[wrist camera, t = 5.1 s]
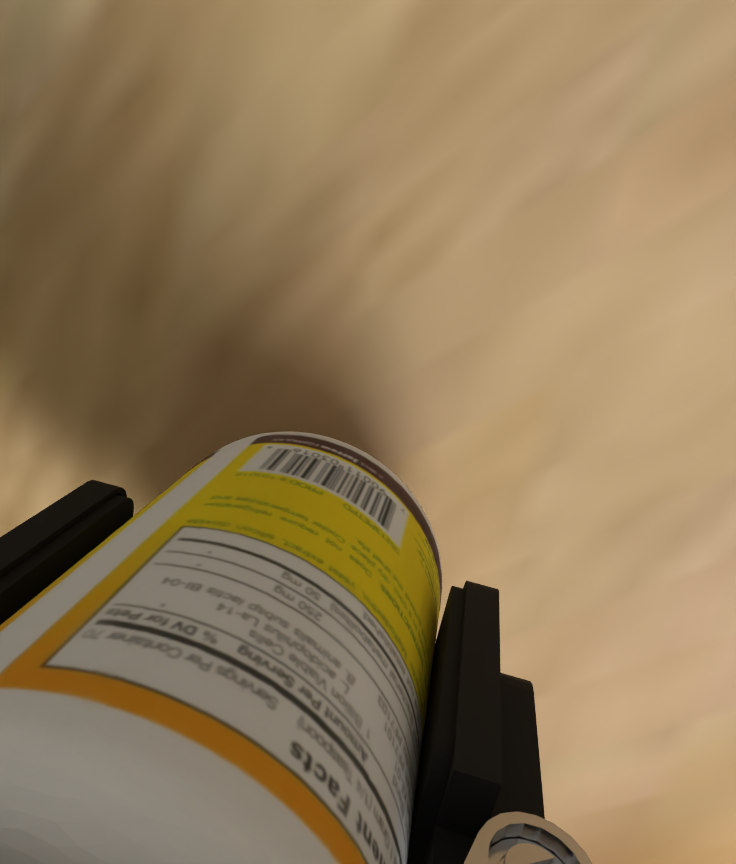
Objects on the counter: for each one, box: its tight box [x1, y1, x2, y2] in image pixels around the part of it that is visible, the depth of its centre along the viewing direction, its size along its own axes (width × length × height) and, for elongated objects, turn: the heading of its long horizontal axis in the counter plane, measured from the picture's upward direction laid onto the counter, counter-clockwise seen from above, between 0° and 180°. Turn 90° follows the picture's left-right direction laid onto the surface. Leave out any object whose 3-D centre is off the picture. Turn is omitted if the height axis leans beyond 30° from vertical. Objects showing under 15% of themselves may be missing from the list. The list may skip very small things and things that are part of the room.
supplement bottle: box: [0, 431, 442, 864], centre depth 8 cm, size 6×6×10 cm
